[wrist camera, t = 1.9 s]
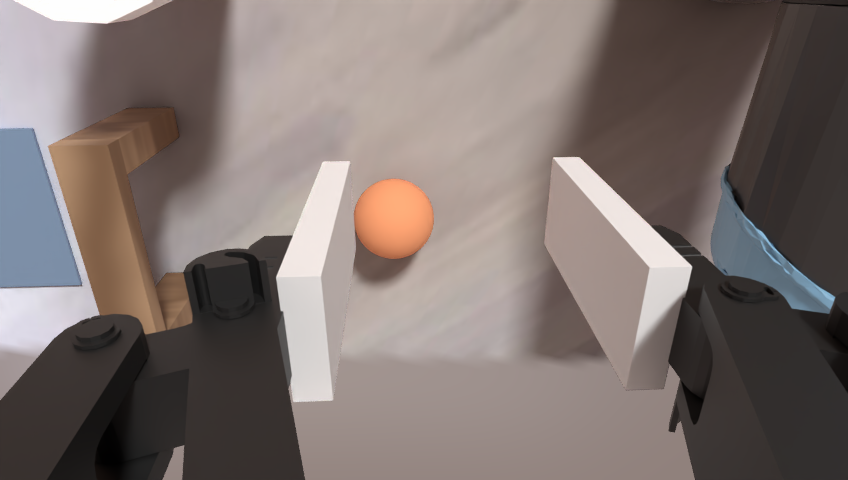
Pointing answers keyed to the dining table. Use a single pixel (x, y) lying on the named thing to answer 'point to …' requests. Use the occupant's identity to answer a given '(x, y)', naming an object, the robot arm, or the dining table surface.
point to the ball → (393, 218)
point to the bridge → (119, 215)
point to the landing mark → (30, 218)
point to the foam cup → (93, 9)
